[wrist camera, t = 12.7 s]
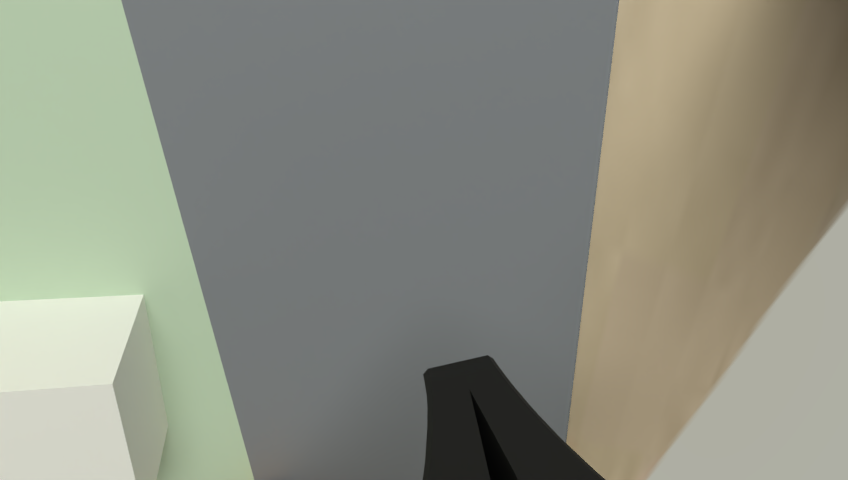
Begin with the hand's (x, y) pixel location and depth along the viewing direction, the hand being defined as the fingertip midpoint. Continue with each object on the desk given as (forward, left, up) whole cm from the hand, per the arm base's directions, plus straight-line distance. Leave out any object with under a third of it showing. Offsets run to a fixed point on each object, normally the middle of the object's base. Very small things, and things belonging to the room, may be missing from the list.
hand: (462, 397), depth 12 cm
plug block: (+10, +3, -6) cm, 12 cm away
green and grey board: (+3, 0, -7) cm, 8 cm away
